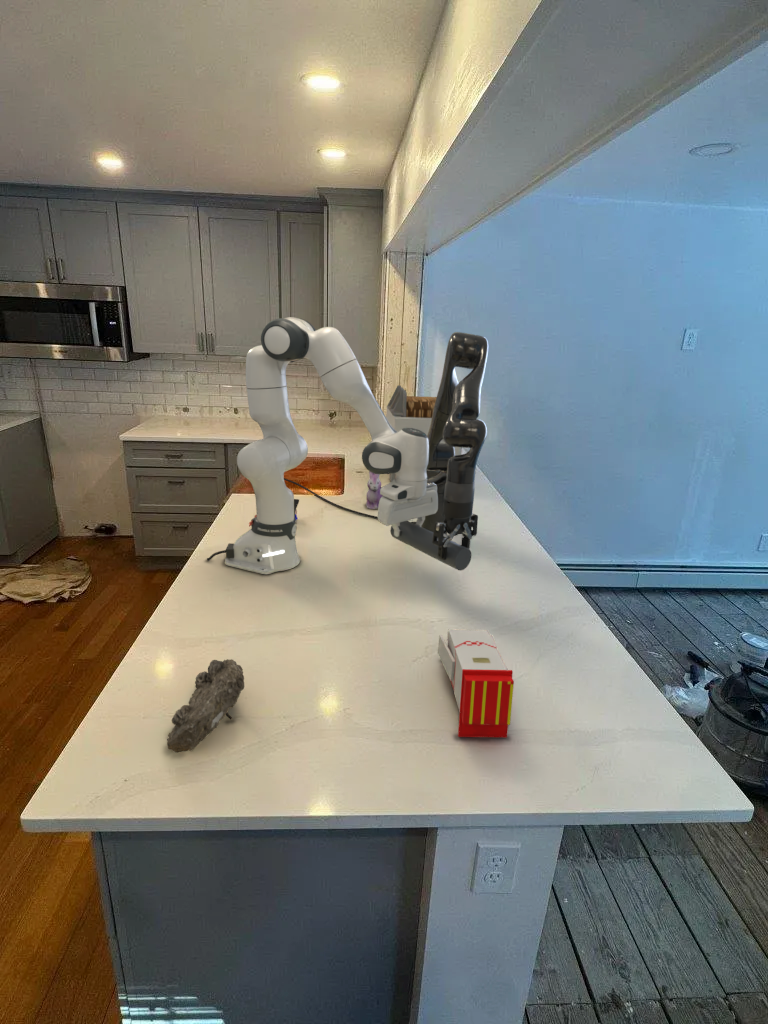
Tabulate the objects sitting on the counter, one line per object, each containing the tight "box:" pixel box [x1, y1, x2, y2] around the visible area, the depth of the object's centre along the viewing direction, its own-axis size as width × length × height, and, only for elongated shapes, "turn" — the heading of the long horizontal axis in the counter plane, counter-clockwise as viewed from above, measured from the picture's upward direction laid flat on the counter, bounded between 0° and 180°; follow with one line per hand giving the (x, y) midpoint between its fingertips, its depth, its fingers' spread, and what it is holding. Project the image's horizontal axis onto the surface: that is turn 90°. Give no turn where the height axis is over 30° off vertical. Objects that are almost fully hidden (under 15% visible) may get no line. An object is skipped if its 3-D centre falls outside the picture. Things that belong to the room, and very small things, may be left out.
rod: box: [389, 520, 473, 571], centre depth 156 cm, size 26×6×6 cm, turn 40°
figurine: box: [365, 470, 383, 510], centre depth 224 cm, size 9×10×15 cm
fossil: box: [166, 658, 245, 754], centre depth 106 cm, size 22×10×15 cm
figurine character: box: [294, 498, 300, 521], centre depth 203 cm, size 7×8×15 cm
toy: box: [437, 628, 515, 738], centre depth 117 cm, size 12×13×30 cm
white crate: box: [385, 384, 463, 482], centre depth 268 cm, size 34×33×41 cm
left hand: (407, 533), depth 162 cm, fingers closed on rod, 6 cm apart
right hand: (453, 555), depth 150 cm, fingers open, 8 cm apart
